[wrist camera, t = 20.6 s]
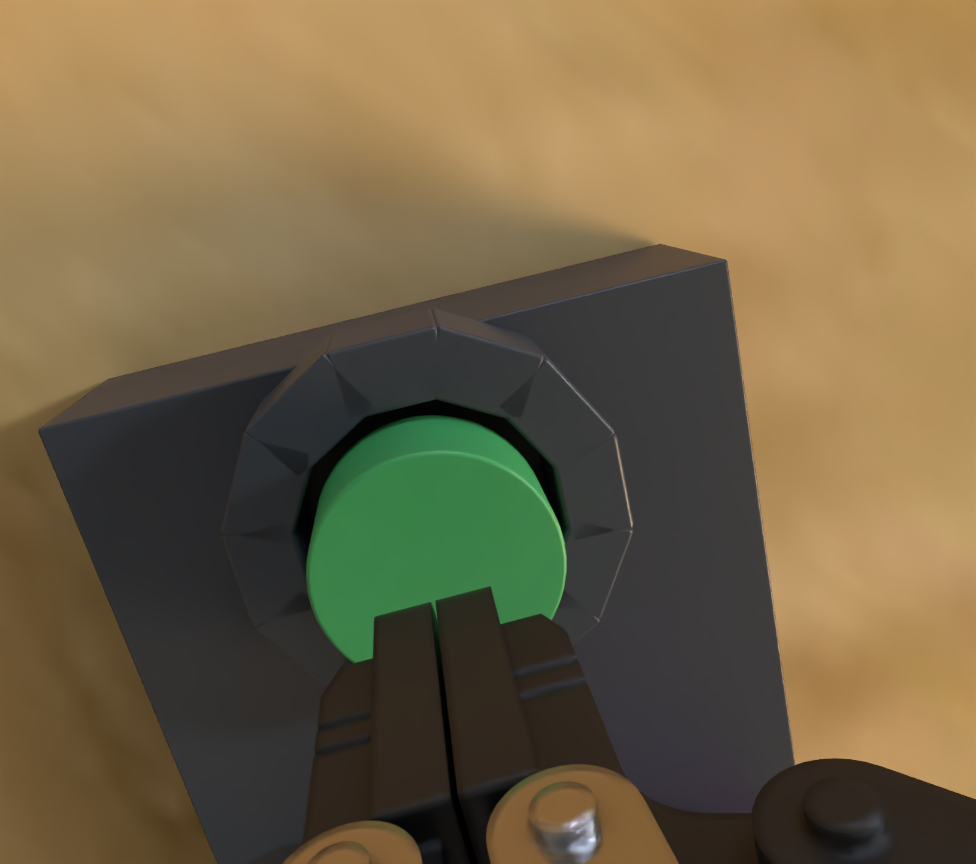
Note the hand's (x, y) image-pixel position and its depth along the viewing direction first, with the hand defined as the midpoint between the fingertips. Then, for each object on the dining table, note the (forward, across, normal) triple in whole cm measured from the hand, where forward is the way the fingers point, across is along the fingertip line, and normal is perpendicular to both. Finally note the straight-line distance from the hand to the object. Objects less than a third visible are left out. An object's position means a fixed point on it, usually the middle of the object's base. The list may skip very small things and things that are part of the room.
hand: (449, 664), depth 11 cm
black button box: (+10, 0, +6) cm, 12 cm away
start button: (+4, 0, 0) cm, 4 cm away
